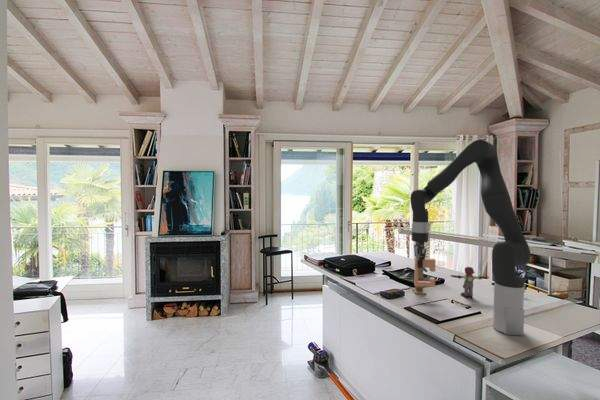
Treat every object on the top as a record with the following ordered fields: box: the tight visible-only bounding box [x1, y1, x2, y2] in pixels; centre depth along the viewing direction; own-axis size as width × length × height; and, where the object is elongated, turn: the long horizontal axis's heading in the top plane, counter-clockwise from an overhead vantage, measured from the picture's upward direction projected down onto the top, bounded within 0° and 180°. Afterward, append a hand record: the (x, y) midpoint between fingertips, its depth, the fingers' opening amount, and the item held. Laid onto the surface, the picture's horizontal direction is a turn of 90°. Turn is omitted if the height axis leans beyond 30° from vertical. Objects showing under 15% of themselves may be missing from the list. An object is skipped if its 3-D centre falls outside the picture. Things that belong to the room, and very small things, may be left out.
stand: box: [411, 268, 428, 296], centre depth 153 cm, size 16×5×16 cm, turn 173°
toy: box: [450, 266, 490, 299], centre depth 151 cm, size 18×6×15 cm, turn 84°
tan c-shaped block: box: [413, 257, 436, 288], centre depth 148 cm, size 2×9×13 cm, turn 83°
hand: (419, 267), depth 148 cm, fingers closed on tan c-shaped block, 2 cm apart
